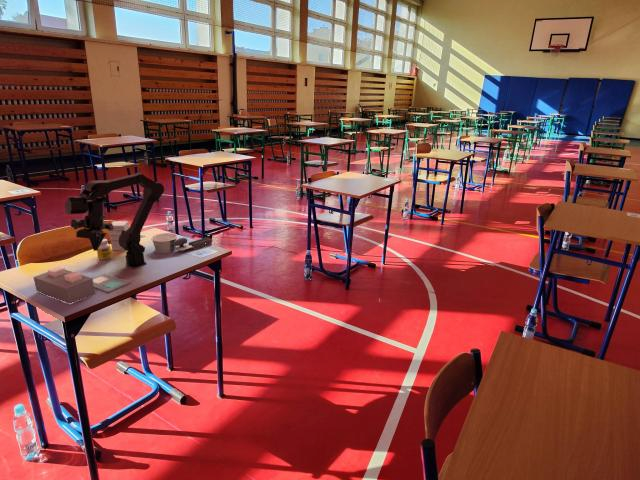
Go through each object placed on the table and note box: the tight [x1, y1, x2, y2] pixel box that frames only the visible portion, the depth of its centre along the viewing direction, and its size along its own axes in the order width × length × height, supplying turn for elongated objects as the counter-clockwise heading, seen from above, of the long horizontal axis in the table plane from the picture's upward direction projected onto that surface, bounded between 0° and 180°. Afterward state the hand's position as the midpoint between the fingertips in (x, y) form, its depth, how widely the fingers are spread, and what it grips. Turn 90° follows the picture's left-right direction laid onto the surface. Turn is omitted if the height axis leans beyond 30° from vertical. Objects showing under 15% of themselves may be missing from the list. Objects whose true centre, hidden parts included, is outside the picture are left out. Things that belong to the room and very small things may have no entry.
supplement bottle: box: [96, 238, 113, 263], centre depth 188 cm, size 5×5×10 cm
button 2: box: [64, 271, 83, 283], centre depth 155 cm, size 4×4×4 cm
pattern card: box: [91, 273, 132, 294], centre depth 167 cm, size 10×16×1 cm, turn 62°
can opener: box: [175, 237, 213, 252], centre depth 205 cm, size 19×5×6 cm, turn 139°
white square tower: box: [108, 220, 130, 251], centre depth 203 cm, size 7×7×13 cm
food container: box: [150, 232, 178, 254], centre depth 202 cm, size 12×12×6 cm
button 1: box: [47, 266, 66, 277], centre depth 160 cm, size 4×4×4 cm
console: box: [33, 269, 96, 303], centre depth 158 cm, size 10×20×6 cm, turn 62°
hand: (95, 250), depth 170 cm, fingers closed
